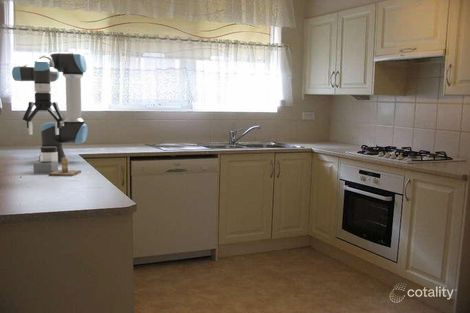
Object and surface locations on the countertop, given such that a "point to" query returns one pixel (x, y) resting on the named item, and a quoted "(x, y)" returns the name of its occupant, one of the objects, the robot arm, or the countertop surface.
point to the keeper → (64, 170)
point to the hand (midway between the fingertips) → (44, 134)
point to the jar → (49, 153)
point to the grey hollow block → (45, 166)
